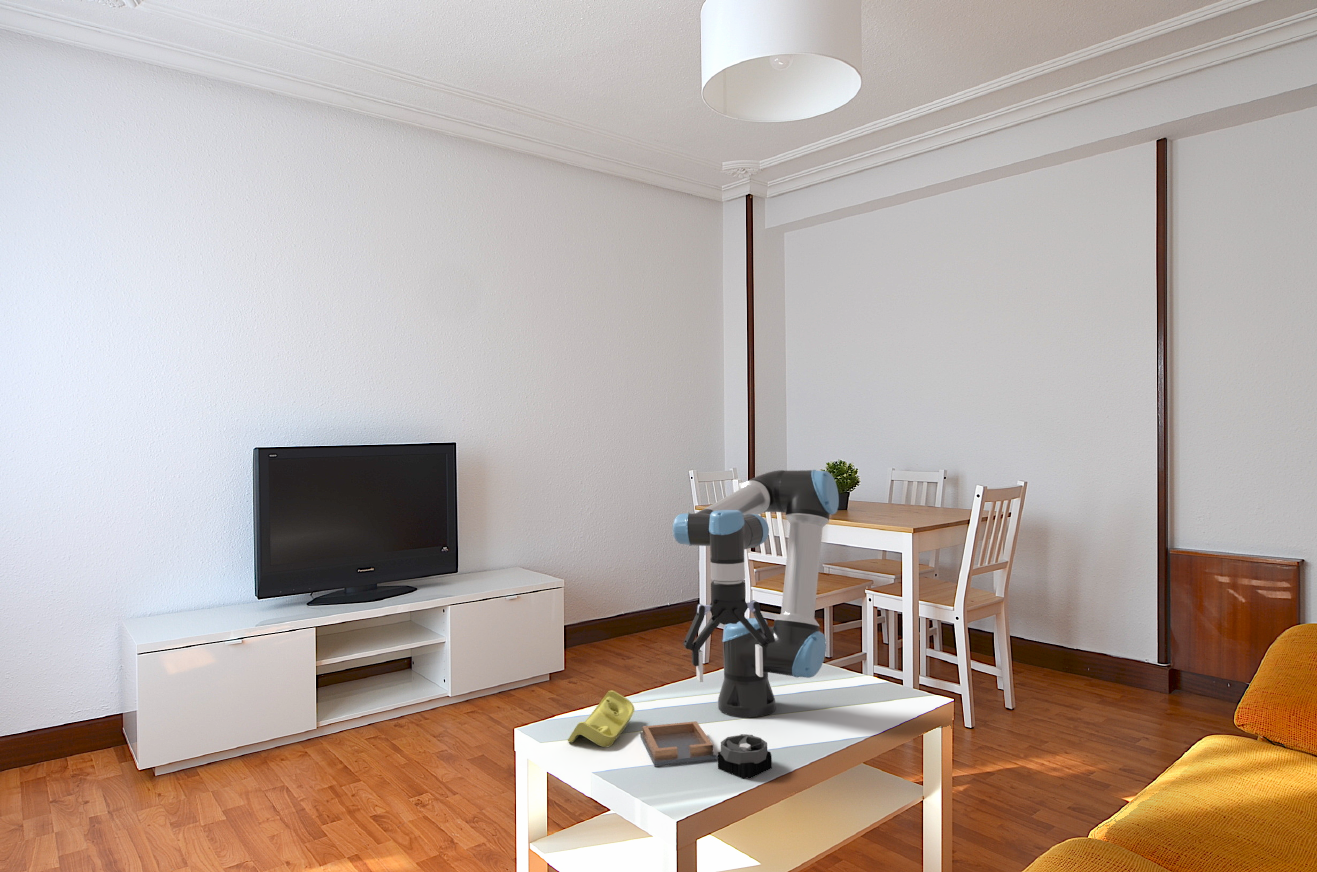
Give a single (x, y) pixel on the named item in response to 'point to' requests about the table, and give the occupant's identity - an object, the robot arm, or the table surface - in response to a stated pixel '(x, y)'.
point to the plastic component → (606, 720)
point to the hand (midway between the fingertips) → (729, 677)
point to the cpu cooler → (744, 756)
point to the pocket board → (677, 744)
